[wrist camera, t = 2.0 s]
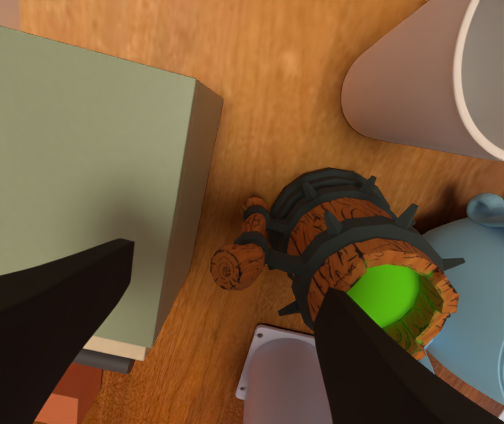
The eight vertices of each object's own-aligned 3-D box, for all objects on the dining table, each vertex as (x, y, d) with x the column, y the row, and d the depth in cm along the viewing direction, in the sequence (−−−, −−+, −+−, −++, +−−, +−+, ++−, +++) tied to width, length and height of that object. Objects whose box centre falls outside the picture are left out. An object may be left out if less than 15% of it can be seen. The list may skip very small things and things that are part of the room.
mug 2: (399, 157, 20) (586, 200, 8) (319, 120, 19) (405, 113, 8) (486, 10, 17) (958, -228, 5) (395, -39, 16) (717, -427, 5)
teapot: (558, 249, 22) (843, 352, 12) (439, 363, 26) (575, 527, 15) (448, 166, 21) (661, 197, 10) (335, 300, 24) (403, 433, 13)
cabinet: (189, 271, 24) (151, 348, 15) (69, 243, 23) (-35, 308, 15) (223, 98, 19) (196, 78, 11) (75, 58, 18) (-71, 6, 10)
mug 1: (414, 189, 20) (592, 264, 9) (354, 294, 24) (437, 442, 13) (256, 131, 19) (251, 139, 8) (215, 249, 23) (173, 367, 12)
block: (100, 388, 28) (76, 429, 25) (63, 380, 28) (32, 420, 24) (103, 360, 27) (77, 399, 23) (64, 352, 27) (32, 390, 23)
